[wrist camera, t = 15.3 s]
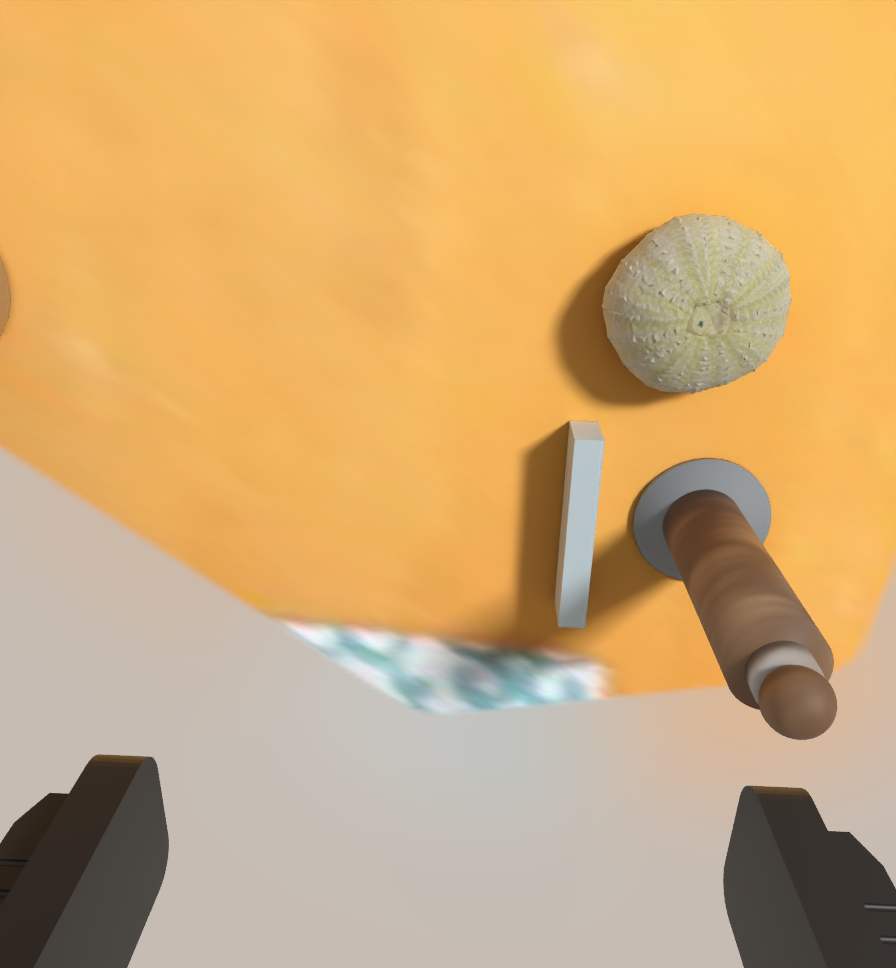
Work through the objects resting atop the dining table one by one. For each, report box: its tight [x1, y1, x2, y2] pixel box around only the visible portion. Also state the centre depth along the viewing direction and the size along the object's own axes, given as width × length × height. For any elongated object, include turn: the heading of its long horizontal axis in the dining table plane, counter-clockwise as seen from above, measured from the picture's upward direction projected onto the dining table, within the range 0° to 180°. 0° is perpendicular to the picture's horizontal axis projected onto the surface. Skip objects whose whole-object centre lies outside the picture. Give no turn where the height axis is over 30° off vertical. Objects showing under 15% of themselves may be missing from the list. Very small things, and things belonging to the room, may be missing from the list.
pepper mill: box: [663, 489, 837, 740], centre depth 40 cm, size 5×5×18 cm
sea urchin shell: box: [601, 213, 792, 394], centre depth 42 cm, size 9×8×8 cm
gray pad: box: [633, 458, 771, 580], centre depth 49 cm, size 8×8×1 cm
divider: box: [554, 421, 605, 628], centre depth 48 cm, size 2×12×3 cm, turn 179°
